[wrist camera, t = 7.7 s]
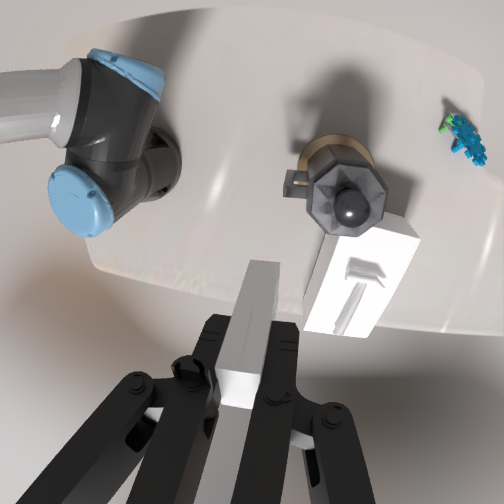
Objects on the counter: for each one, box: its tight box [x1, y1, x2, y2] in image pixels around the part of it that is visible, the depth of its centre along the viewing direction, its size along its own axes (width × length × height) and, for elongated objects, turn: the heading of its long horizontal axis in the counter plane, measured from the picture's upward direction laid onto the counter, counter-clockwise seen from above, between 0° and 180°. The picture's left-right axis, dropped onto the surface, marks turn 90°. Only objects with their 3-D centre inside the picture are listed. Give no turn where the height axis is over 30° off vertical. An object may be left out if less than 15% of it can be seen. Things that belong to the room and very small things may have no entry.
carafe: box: [283, 144, 388, 237], centre depth 39 cm, size 14×11×14 cm
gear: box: [439, 114, 487, 166], centre depth 35 cm, size 11×6×10 cm
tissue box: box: [302, 211, 421, 338], centre depth 49 cm, size 14×25×11 cm, turn 171°
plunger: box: [333, 188, 370, 228], centre depth 36 cm, size 8×8×14 cm
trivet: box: [297, 134, 375, 185], centre depth 45 cm, size 14×14×1 cm
